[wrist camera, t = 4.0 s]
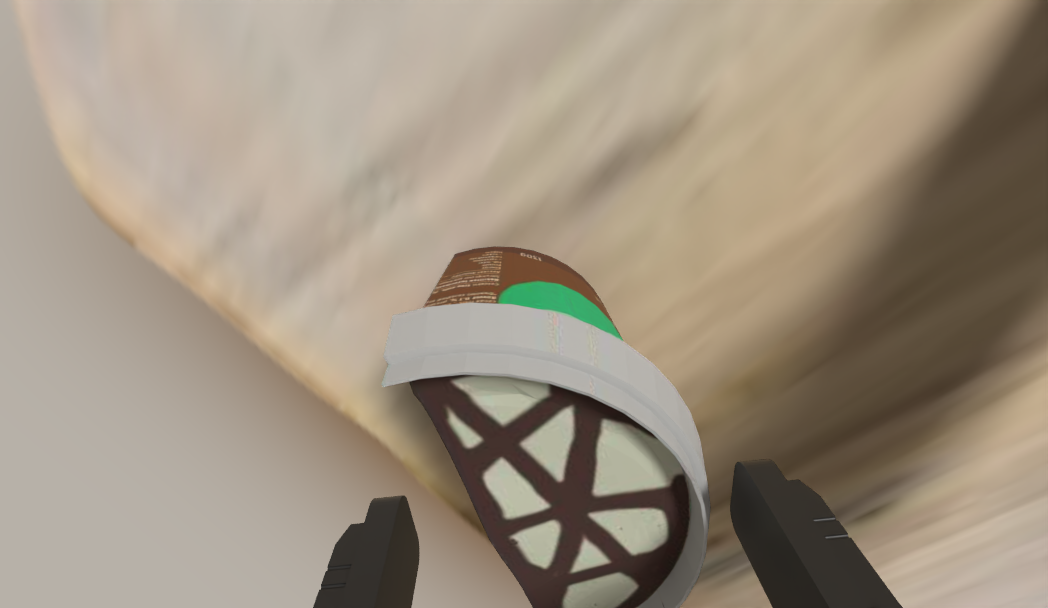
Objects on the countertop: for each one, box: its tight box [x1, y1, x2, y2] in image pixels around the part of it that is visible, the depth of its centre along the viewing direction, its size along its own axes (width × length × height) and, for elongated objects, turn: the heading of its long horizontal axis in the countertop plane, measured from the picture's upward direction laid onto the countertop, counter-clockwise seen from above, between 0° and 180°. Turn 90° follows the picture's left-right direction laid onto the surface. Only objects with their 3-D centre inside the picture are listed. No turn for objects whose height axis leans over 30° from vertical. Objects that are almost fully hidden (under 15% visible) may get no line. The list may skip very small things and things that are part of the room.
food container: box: [382, 247, 711, 608], centre depth 16 cm, size 12×6×10 cm, turn 19°
